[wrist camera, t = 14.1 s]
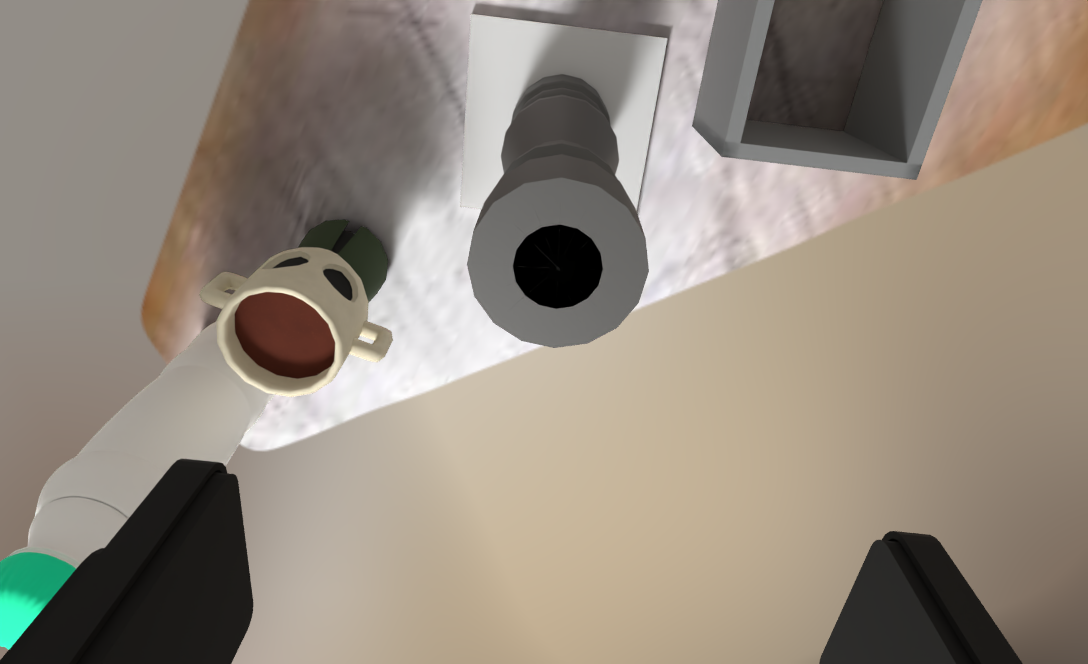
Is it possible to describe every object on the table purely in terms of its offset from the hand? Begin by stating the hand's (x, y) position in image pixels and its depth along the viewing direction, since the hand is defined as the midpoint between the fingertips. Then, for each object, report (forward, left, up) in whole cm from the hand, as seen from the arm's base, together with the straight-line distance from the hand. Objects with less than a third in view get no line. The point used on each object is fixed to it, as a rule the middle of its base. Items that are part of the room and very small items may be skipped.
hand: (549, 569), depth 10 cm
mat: (0, 0, -38) cm, 38 cm away
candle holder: (0, 0, -38) cm, 38 cm away
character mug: (+11, -14, -38) cm, 42 cm away
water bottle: (+20, -22, -38) cm, 48 cm away
